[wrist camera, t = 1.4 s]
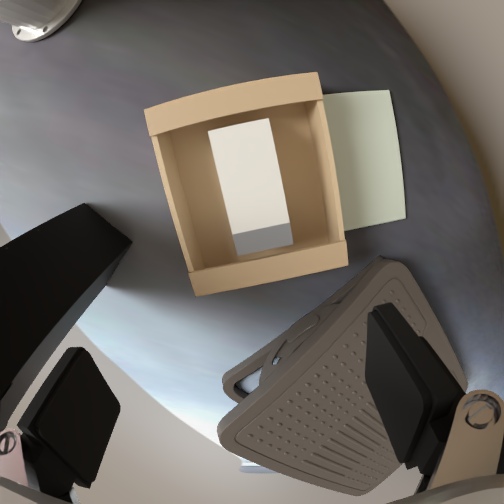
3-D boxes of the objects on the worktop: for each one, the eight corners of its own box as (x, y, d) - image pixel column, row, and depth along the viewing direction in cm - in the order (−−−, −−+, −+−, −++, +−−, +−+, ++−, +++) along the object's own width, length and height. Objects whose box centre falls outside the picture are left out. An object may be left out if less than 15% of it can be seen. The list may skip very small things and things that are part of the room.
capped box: (214, 133, 28) (207, 131, 22) (263, 122, 28) (268, 118, 22) (238, 234, 32) (237, 255, 26) (284, 225, 32) (293, 244, 26)
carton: (161, 114, 28) (143, 109, 22) (303, 83, 27) (317, 71, 21) (203, 271, 34) (195, 296, 28) (332, 244, 33) (348, 265, 28)
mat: (311, 96, 27) (312, 96, 27) (387, 90, 27) (389, 90, 26) (334, 231, 33) (336, 232, 32) (403, 217, 32) (405, 218, 32)
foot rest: (461, 375, 45) (490, 417, 33) (344, 454, 51) (356, 500, 40) (382, 238, 34) (439, 286, 22) (208, 374, 40) (199, 444, 29)
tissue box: (134, 241, 32) (-26, 442, 6) (105, 287, 34) (-17, 469, 8) (84, 201, 31) (-115, 332, 4) (60, 250, 33) (-92, 392, 6)
